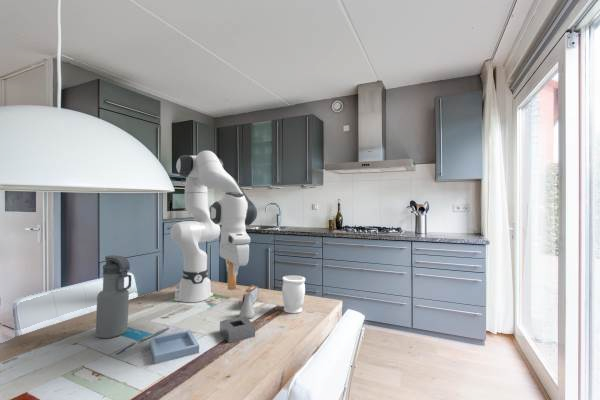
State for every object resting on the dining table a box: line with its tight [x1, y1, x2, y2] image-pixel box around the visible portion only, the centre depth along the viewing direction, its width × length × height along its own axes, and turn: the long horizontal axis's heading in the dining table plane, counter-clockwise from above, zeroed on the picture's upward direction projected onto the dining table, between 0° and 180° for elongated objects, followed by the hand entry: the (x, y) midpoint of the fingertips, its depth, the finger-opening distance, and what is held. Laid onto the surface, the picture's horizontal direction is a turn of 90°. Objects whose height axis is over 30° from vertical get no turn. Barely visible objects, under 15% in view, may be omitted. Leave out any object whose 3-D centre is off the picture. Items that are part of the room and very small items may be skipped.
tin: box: [241, 284, 259, 305], centre depth 139 cm, size 15×3×8 cm, turn 168°
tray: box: [149, 329, 200, 365], centre depth 96 cm, size 13×13×2 cm
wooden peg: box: [227, 259, 237, 291], centre depth 107 cm, size 4×4×11 cm
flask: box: [238, 292, 256, 320], centre depth 125 cm, size 7×7×10 cm
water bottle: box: [95, 254, 132, 339], centre depth 106 cm, size 10×10×28 cm
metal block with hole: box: [219, 316, 256, 344], centre depth 108 cm, size 10×10×4 cm
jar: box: [281, 274, 306, 314], centre depth 134 cm, size 11×10×15 cm
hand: (232, 273), depth 107 cm, fingers closed on wooden peg, 4 cm apart
